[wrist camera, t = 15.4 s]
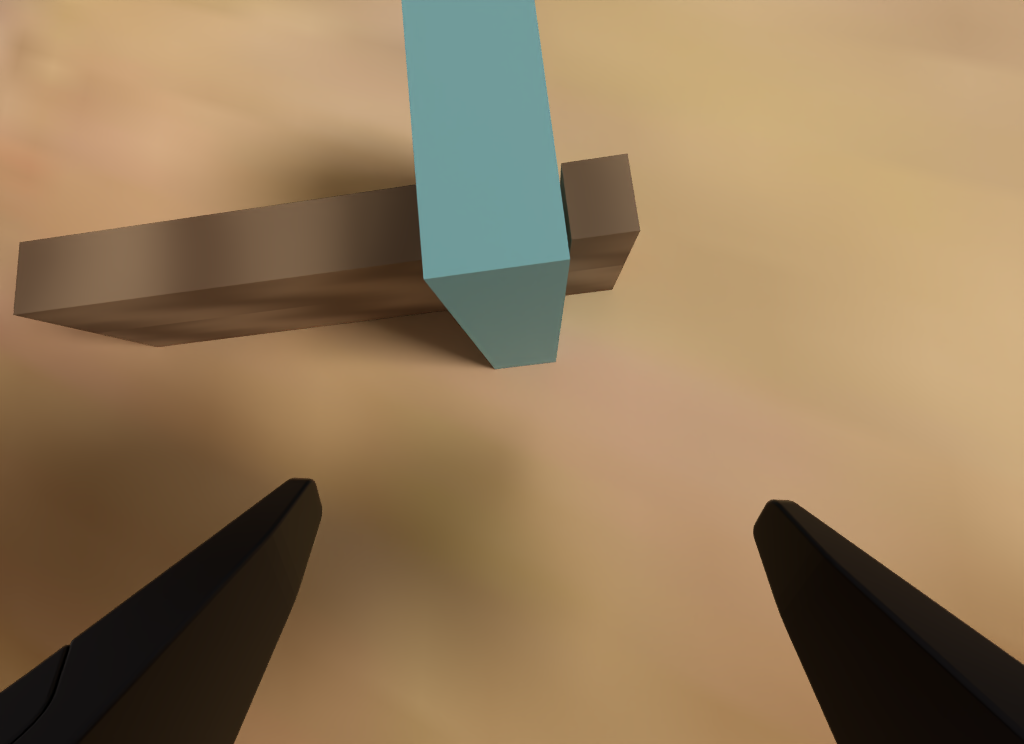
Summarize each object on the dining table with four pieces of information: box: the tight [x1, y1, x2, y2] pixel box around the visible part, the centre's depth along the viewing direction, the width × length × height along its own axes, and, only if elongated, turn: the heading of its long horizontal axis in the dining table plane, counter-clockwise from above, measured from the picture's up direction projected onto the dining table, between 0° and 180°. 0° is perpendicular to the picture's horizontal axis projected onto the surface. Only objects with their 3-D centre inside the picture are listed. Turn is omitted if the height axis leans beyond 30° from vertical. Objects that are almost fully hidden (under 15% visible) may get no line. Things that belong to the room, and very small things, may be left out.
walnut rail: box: [13, 154, 640, 347], centre depth 15 cm, size 20×2×5 cm, turn 96°
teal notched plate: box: [402, 0, 570, 369], centre depth 12 cm, size 8×2×10 cm, turn 6°
